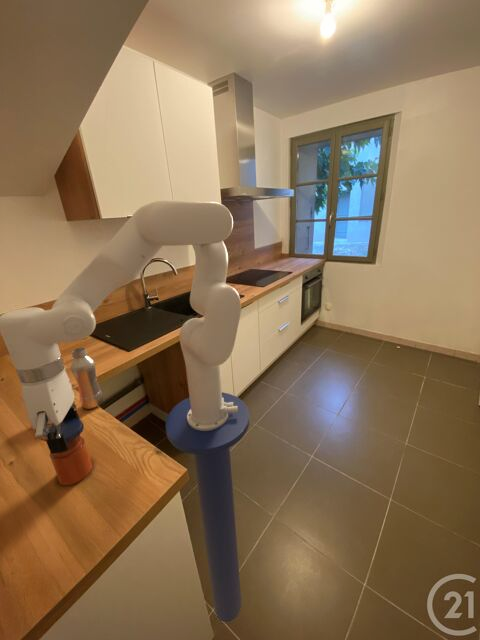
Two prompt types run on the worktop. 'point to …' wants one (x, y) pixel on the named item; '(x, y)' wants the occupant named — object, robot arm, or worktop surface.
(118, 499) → the worktop surface
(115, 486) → the worktop surface
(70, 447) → the jar
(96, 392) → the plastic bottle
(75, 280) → the robot arm
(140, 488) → the worktop surface
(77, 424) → the lid
